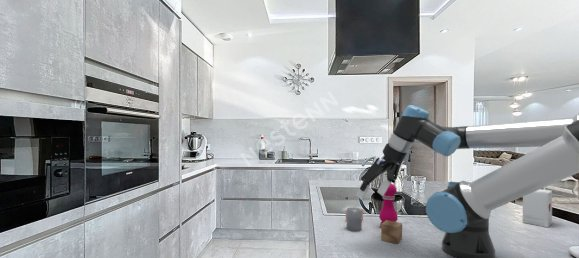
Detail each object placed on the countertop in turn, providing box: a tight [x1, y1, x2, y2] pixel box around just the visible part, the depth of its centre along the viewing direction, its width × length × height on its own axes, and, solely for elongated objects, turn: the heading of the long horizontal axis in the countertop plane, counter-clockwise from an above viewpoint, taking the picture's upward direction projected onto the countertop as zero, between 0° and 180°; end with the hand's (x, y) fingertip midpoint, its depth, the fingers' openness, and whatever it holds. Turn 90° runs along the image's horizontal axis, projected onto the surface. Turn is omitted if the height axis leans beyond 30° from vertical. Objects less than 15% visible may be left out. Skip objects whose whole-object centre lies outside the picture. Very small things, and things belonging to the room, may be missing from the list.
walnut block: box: [380, 220, 403, 245], centre depth 108 cm, size 6×6×6 cm
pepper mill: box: [378, 183, 398, 228], centre depth 121 cm, size 7×7×20 cm
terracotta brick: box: [345, 207, 364, 223], centre depth 130 cm, size 4×8×5 cm, turn 136°
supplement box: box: [522, 188, 553, 228], centre depth 130 cm, size 9×9×15 cm
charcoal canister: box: [346, 207, 363, 233], centre depth 119 cm, size 6×6×8 cm
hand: (370, 195), depth 109 cm, fingers open, 13 cm apart
